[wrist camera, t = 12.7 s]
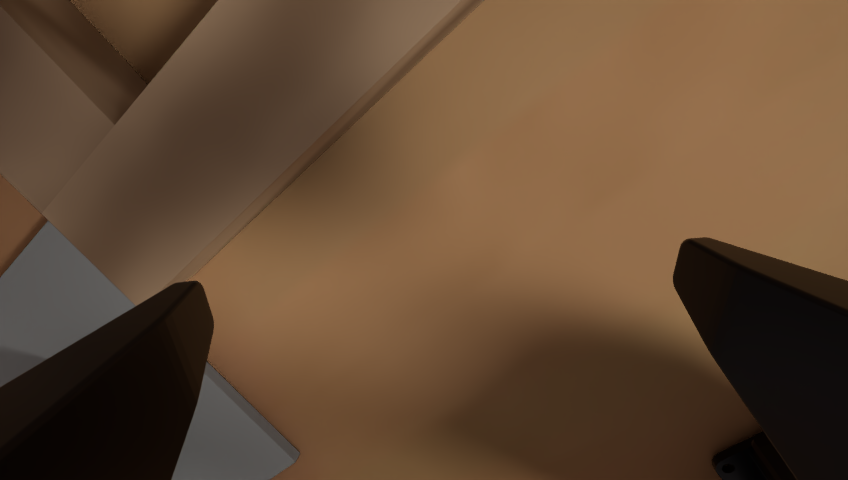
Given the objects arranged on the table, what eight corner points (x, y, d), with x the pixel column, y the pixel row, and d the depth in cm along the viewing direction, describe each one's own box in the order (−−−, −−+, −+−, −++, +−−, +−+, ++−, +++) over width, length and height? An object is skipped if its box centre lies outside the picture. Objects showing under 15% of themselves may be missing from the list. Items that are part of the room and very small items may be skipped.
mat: (300, 453, 24) (295, 461, 24) (125, 572, 29) (118, 581, 29) (59, 217, 22) (47, 220, 21) (-88, 390, 27) (-100, 396, 26)
